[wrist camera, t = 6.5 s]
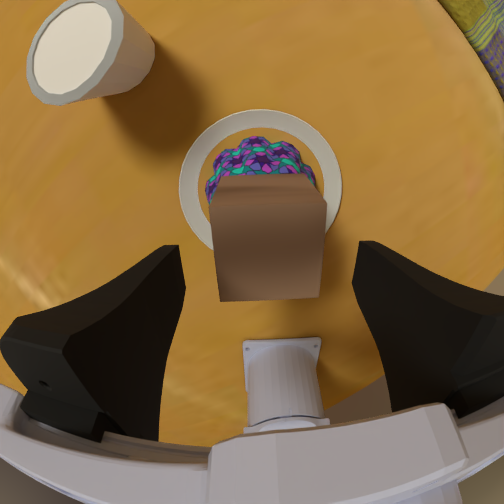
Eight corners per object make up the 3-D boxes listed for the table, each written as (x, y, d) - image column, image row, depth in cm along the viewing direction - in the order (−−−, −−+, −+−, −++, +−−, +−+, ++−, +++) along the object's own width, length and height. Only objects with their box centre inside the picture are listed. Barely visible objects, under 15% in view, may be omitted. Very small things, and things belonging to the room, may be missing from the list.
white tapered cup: (154, 6, 13) (115, -29, 7) (173, 81, 16) (135, 70, 10) (76, 44, 14) (20, 34, 7) (92, 116, 17) (35, 126, 11)
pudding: (367, 168, 20) (399, 187, 15) (282, 281, 24) (289, 322, 20) (232, 79, 17) (226, 68, 12) (156, 216, 21) (133, 247, 17)
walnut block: (301, 246, 17) (318, 297, 13) (227, 249, 17) (220, 301, 13) (304, 173, 15) (327, 203, 10) (221, 176, 15) (208, 207, 10)
